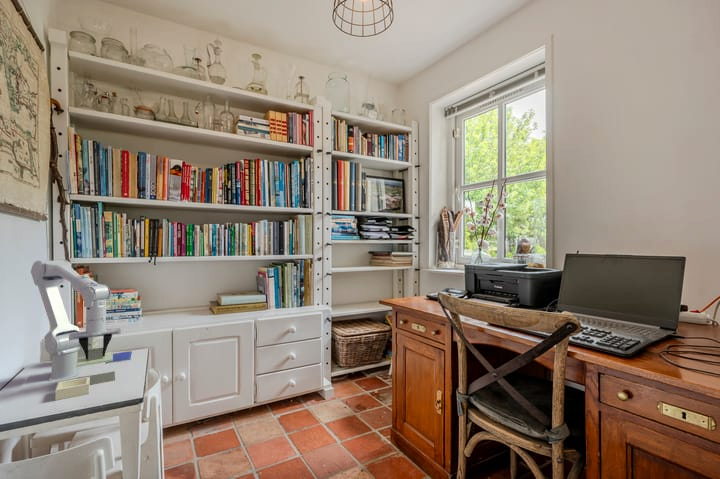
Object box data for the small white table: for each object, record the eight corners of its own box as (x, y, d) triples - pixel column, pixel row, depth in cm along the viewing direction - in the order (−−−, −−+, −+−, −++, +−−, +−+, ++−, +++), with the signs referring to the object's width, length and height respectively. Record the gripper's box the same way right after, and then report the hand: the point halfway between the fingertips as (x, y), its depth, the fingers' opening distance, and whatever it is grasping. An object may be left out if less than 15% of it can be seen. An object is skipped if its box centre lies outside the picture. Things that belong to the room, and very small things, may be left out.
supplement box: (70, 364, 137) (70, 333, 137) (77, 359, 143) (77, 329, 144) (92, 362, 140) (93, 331, 140) (98, 356, 146) (98, 327, 147)
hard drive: (109, 354, 147) (106, 362, 137) (131, 350, 151) (130, 358, 141) (109, 357, 147) (106, 366, 137) (131, 354, 151) (130, 362, 141)
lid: (78, 359, 121) (78, 349, 121) (112, 353, 127) (112, 344, 127) (76, 367, 113) (76, 356, 113) (113, 360, 119) (113, 350, 119)
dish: (58, 392, 110) (58, 382, 110) (89, 386, 115) (90, 376, 115) (55, 401, 103) (55, 390, 103) (88, 394, 108) (88, 384, 108)
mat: (77, 379, 121) (77, 377, 121) (114, 372, 128) (114, 371, 128) (74, 389, 113) (74, 388, 113) (115, 381, 119) (115, 380, 119)
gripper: (68, 323, 113) (67, 364, 112) (121, 318, 121) (120, 355, 121) (70, 320, 118) (69, 358, 118) (120, 315, 127) (120, 351, 127)
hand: (95, 357), depth 120 cm, fingers closed on lid, 4 cm apart
